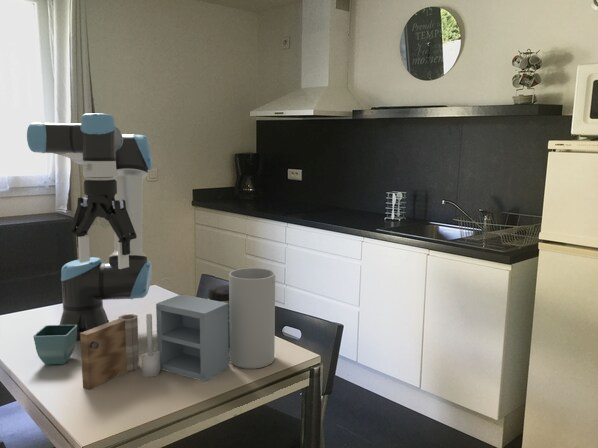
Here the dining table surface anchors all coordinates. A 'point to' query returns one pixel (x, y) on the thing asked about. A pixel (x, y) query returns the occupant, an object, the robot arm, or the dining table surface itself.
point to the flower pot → (55, 343)
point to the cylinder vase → (252, 317)
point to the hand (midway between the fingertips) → (103, 264)
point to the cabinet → (188, 338)
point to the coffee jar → (220, 296)
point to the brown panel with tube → (109, 350)
